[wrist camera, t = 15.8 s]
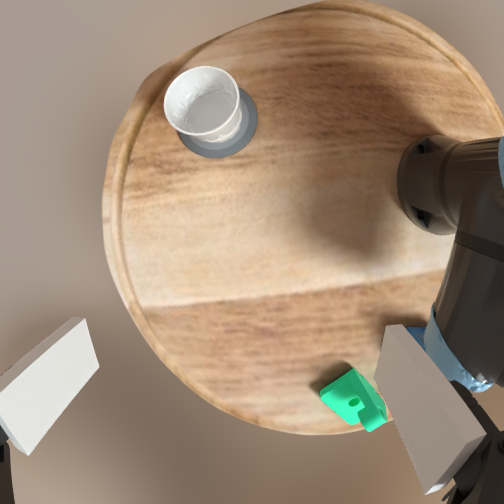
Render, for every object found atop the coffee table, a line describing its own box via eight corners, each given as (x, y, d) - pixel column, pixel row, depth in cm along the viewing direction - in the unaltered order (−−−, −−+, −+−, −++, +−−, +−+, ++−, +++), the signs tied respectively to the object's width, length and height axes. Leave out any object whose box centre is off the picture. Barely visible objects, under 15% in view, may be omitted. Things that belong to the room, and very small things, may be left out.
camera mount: (316, 388, 45) (324, 429, 35) (352, 364, 43) (368, 403, 33) (349, 417, 46) (359, 454, 36) (381, 396, 45) (397, 432, 35)
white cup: (238, 152, 36) (228, 141, 26) (182, 142, 36) (155, 129, 26) (252, 98, 34) (247, 71, 24) (196, 89, 34) (175, 62, 24)
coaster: (256, 82, 34) (256, 80, 33) (258, 156, 36) (257, 156, 36) (179, 88, 34) (177, 87, 34) (178, 160, 37) (177, 160, 36)
